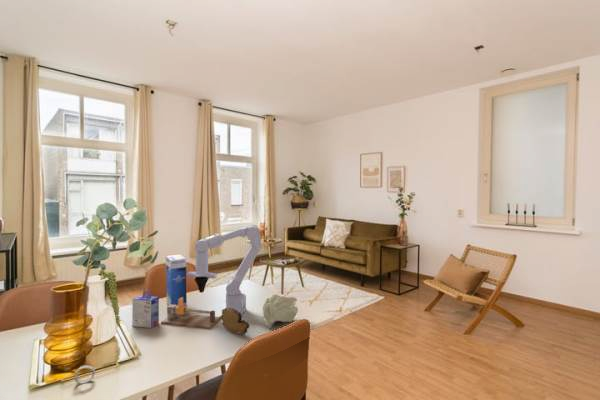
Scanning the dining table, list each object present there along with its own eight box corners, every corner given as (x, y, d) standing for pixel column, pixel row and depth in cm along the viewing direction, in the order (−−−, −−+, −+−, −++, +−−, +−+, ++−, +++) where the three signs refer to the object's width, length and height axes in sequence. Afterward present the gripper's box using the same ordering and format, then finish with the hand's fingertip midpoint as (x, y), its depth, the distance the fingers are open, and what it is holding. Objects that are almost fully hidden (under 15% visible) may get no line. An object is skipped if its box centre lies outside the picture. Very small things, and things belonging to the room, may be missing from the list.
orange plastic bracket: (186, 311, 140) (186, 297, 140) (183, 314, 137) (182, 299, 137) (178, 311, 141) (178, 296, 140) (175, 313, 138) (175, 299, 138)
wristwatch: (76, 381, 95) (76, 366, 95) (95, 377, 97) (94, 362, 97) (74, 387, 92) (73, 371, 92) (93, 382, 94) (93, 367, 94)
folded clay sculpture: (280, 331, 143) (285, 297, 150) (299, 333, 135) (303, 297, 141) (250, 326, 133) (256, 289, 139) (268, 327, 124) (274, 289, 131)
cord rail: (220, 319, 141) (220, 305, 140) (210, 329, 131) (210, 314, 130) (174, 314, 145) (174, 301, 145) (160, 323, 135) (160, 309, 135)
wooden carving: (252, 334, 126) (252, 310, 126) (245, 338, 122) (245, 314, 122) (223, 325, 135) (223, 302, 134) (216, 329, 131) (216, 306, 130)
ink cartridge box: (159, 323, 136) (159, 291, 136) (151, 328, 131) (151, 295, 130) (140, 321, 138) (140, 289, 138) (131, 326, 133) (131, 294, 132)
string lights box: (187, 309, 152) (186, 258, 151) (170, 313, 147) (170, 260, 146) (180, 301, 163) (180, 253, 162) (165, 304, 158) (165, 255, 157)
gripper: (183, 265, 144) (183, 293, 145) (211, 267, 142) (211, 295, 142) (191, 261, 151) (191, 288, 152) (218, 263, 148) (218, 290, 149)
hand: (201, 291), depth 147 cm, fingers closed
